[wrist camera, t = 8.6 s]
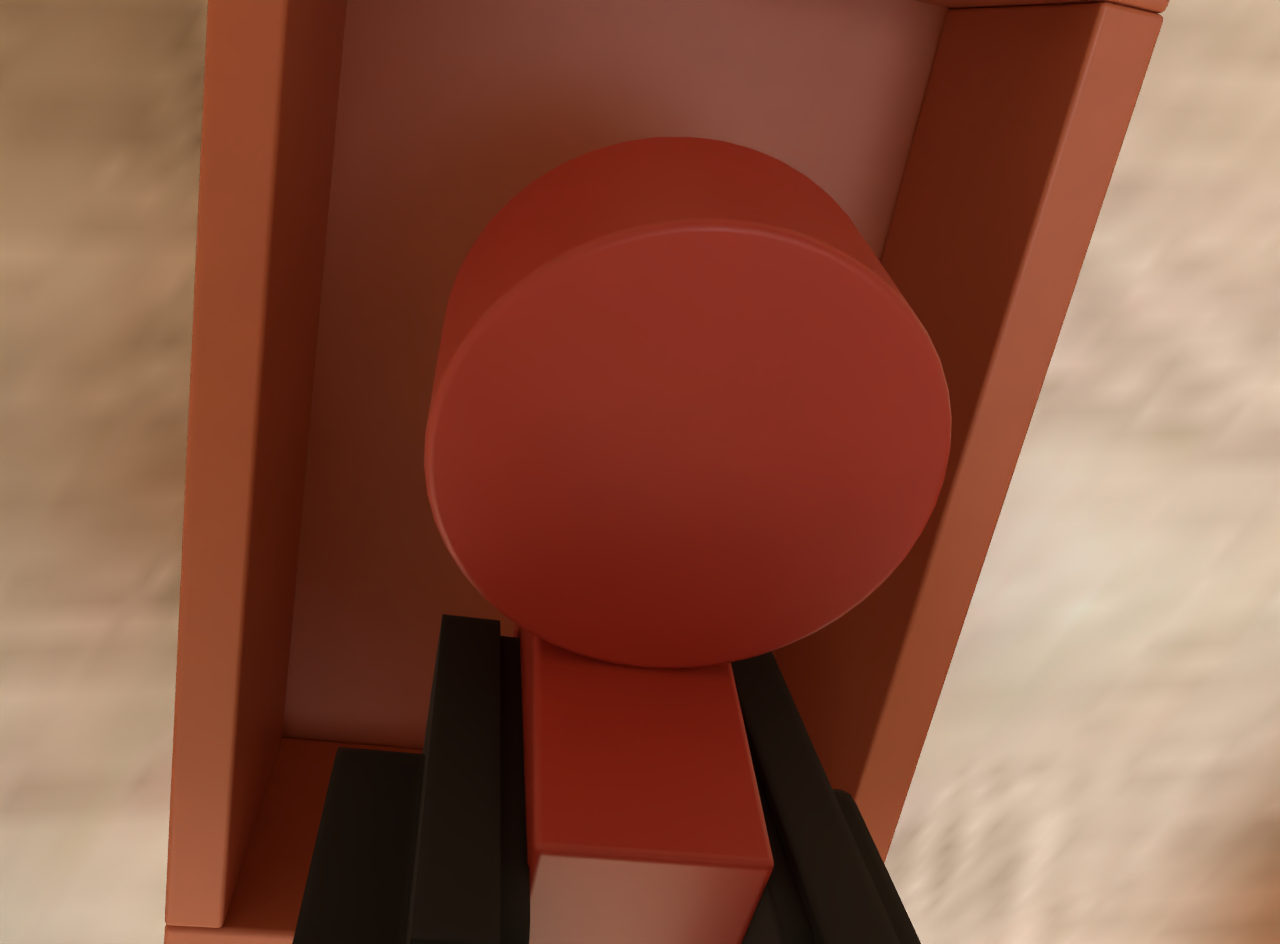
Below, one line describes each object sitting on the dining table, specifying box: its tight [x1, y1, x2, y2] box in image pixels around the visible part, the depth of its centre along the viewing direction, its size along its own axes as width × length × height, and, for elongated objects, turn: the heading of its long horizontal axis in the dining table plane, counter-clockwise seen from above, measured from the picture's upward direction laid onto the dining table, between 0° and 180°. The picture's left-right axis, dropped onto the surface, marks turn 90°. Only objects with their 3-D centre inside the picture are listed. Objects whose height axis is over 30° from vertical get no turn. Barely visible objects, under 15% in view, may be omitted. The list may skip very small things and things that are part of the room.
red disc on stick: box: [424, 137, 952, 944], centre depth 9 cm, size 9×4×4 cm, turn 169°
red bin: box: [164, 0, 1169, 944], centre depth 12 cm, size 12×8×4 cm, turn 169°
